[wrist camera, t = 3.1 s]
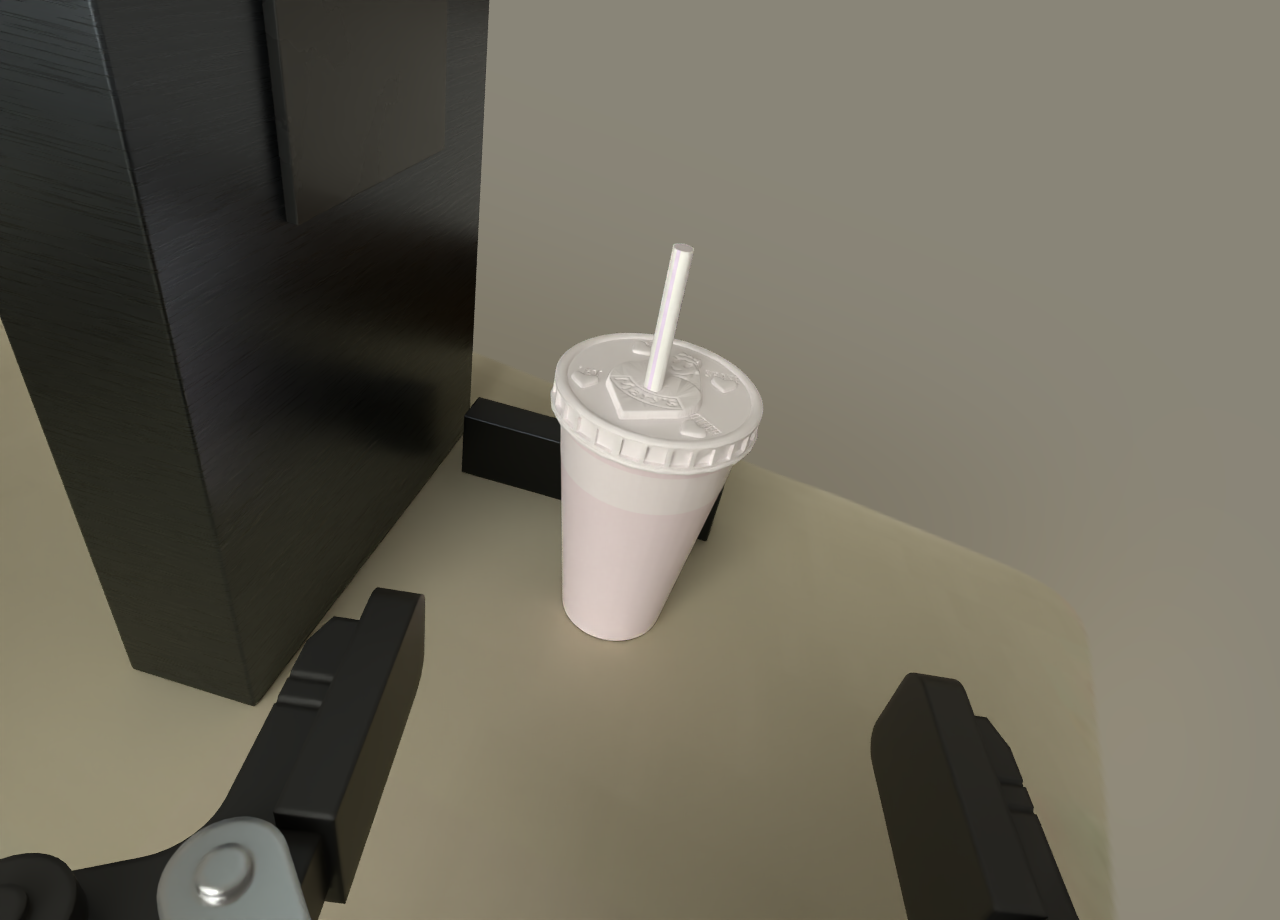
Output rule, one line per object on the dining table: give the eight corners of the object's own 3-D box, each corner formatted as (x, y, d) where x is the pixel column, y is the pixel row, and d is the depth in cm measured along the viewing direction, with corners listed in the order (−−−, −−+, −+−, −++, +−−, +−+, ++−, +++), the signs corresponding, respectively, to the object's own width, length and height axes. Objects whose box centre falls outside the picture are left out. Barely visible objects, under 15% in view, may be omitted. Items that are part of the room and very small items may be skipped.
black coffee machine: (716, 495, 34) (947, -238, 19) (643, 830, 21) (1181, -622, 6) (389, 403, 35) (367, -357, 20) (131, 669, 22) (-461, -894, 7)
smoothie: (488, 612, 26) (519, 230, 18) (586, 518, 31) (646, 183, 23) (643, 705, 24) (759, 326, 16) (722, 591, 29) (842, 253, 21)
